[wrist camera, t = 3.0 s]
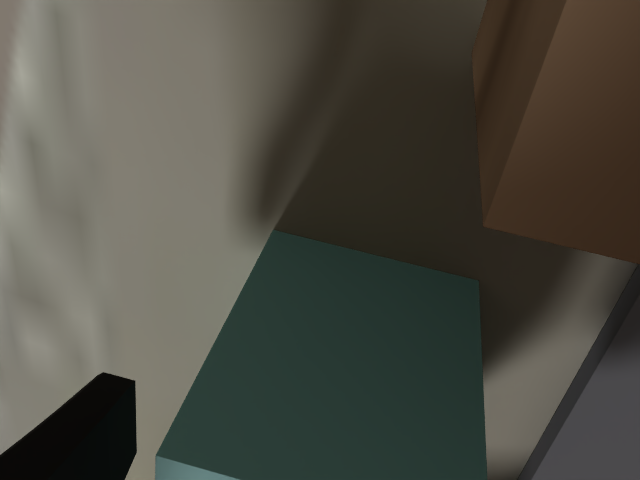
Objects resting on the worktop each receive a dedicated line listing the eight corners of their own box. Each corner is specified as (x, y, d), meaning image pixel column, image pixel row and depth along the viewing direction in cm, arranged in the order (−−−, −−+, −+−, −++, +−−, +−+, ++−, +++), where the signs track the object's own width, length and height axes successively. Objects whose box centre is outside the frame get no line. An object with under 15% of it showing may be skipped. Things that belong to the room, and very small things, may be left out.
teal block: (478, 279, 13) (489, 550, 8) (424, 420, 15) (405, 693, 10) (273, 229, 13) (155, 455, 8) (253, 373, 15) (153, 616, 10)
